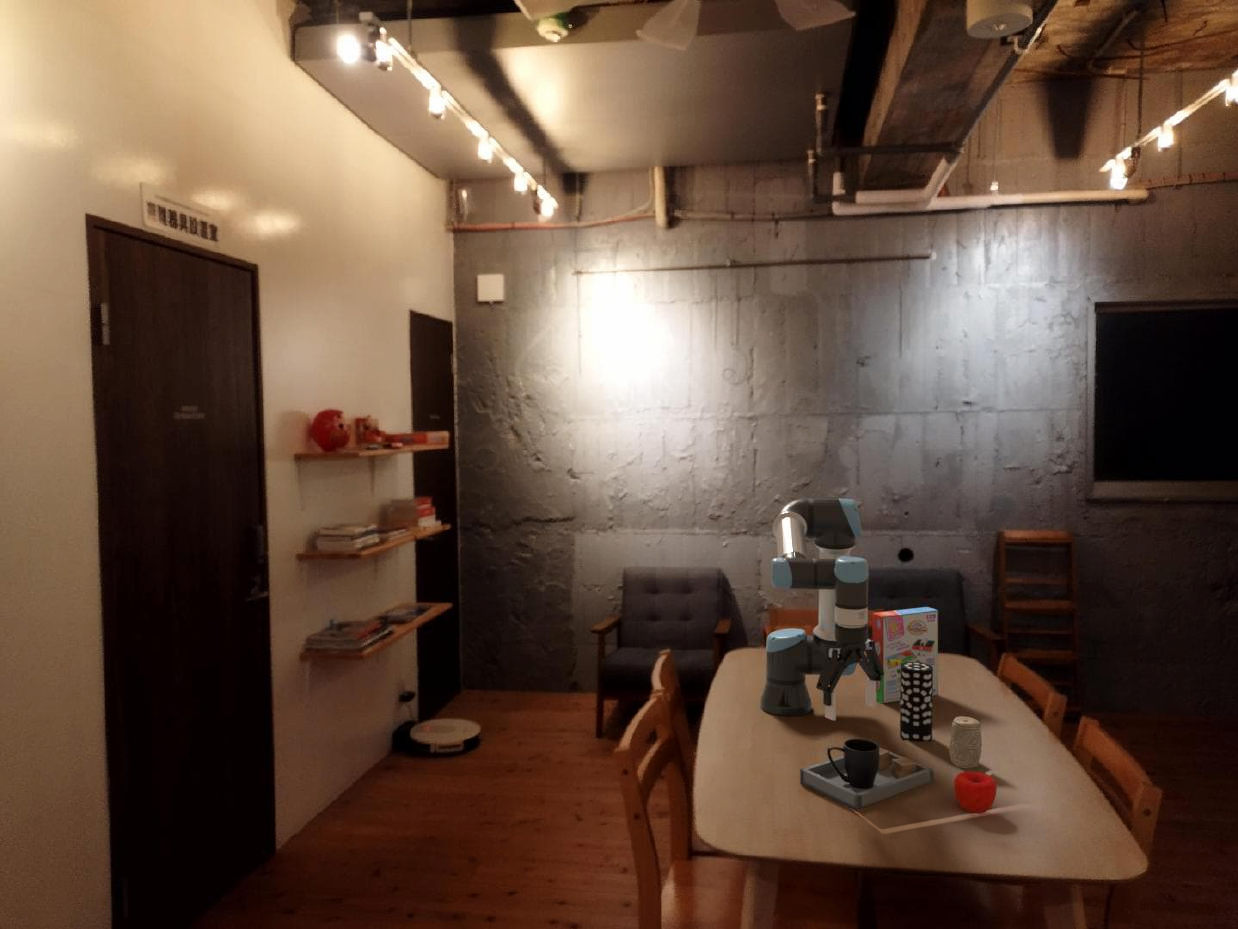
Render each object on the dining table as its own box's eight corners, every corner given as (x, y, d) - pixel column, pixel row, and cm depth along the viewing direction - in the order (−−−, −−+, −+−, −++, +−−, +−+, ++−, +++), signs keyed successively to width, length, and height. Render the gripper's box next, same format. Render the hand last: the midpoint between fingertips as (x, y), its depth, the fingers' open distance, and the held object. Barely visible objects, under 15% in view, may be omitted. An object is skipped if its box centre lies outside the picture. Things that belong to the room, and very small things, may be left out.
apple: (974, 823, 187) (975, 788, 186) (944, 806, 195) (944, 772, 194) (1005, 815, 190) (1005, 780, 190) (974, 799, 198) (974, 765, 198)
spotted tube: (931, 734, 237) (932, 663, 236) (932, 746, 229) (933, 672, 228) (900, 731, 240) (900, 660, 239) (899, 742, 232) (900, 669, 231)
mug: (825, 775, 210) (825, 737, 209) (875, 777, 208) (876, 739, 208) (829, 790, 202) (829, 750, 201) (881, 792, 200) (882, 752, 200)
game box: (927, 690, 274) (928, 606, 272) (938, 696, 269) (939, 610, 267) (871, 698, 268) (871, 612, 266) (882, 704, 262) (882, 615, 261)
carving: (982, 773, 212) (982, 725, 211) (949, 769, 214) (949, 722, 214) (981, 763, 218) (981, 717, 217) (949, 759, 220) (949, 713, 220)
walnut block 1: (866, 766, 215) (866, 750, 215) (874, 761, 218) (874, 746, 217) (880, 771, 212) (880, 755, 212) (889, 766, 215) (889, 750, 214)
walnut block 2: (891, 775, 209) (891, 759, 209) (905, 773, 211) (905, 757, 210) (901, 782, 206) (901, 766, 205) (916, 780, 207) (916, 763, 207)
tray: (800, 783, 208) (800, 769, 207) (874, 758, 222) (874, 745, 221) (857, 812, 192) (857, 796, 192) (933, 783, 206) (933, 769, 206)
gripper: (824, 636, 192) (824, 729, 193) (900, 619, 205) (899, 706, 207) (800, 628, 198) (800, 718, 200) (875, 613, 211) (874, 697, 213)
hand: (850, 712), depth 203 cm, fingers open, 13 cm apart
